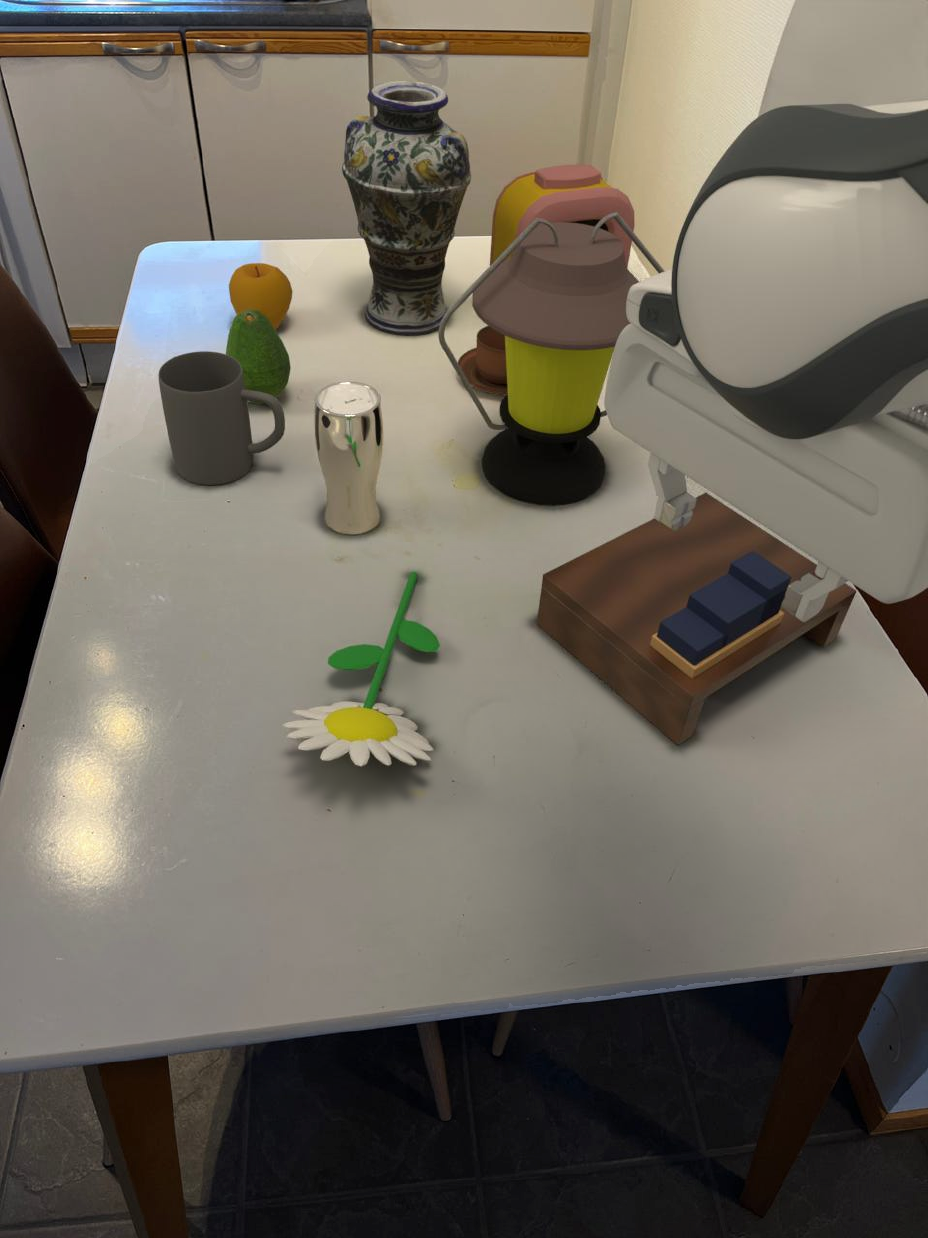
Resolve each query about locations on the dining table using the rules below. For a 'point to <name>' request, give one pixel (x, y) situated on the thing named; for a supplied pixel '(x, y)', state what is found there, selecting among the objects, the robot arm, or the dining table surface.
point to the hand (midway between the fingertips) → (732, 564)
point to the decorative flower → (368, 704)
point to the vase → (406, 201)
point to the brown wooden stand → (669, 609)
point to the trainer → (724, 615)
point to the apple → (261, 291)
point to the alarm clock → (558, 204)
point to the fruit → (259, 353)
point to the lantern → (552, 354)
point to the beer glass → (349, 454)
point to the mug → (212, 417)
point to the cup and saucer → (486, 362)
